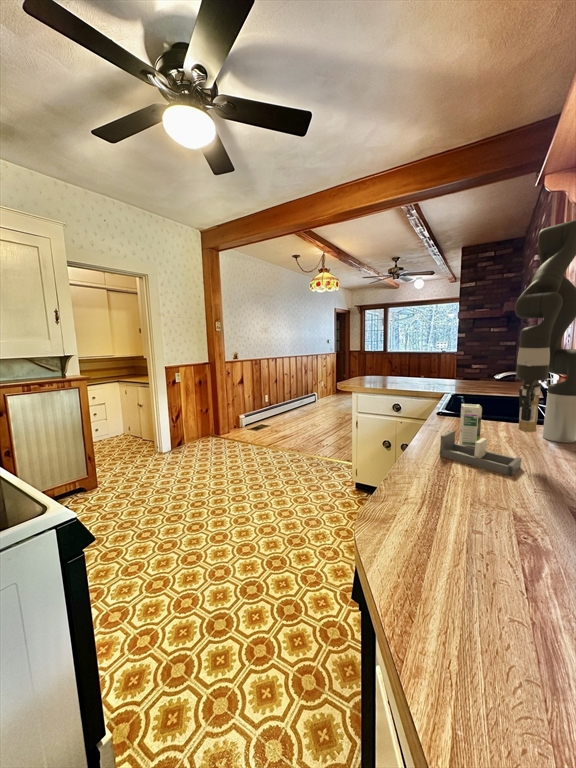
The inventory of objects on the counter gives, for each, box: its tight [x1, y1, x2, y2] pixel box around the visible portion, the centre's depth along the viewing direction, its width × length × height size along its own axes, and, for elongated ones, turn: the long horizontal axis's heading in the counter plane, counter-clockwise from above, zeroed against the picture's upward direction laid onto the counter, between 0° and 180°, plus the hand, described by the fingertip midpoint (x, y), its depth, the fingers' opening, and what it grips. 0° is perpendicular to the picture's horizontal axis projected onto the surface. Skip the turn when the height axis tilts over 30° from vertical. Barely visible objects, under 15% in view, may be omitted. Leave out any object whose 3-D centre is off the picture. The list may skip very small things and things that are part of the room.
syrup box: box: [458, 403, 483, 448], centre depth 112 cm, size 6×6×14 cm
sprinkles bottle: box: [517, 388, 541, 433], centre depth 95 cm, size 5×5×14 cm
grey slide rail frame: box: [439, 429, 522, 477], centre depth 98 cm, size 8×20×7 cm, turn 40°
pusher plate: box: [474, 437, 488, 458], centre depth 97 cm, size 6×1×5 cm, turn 130°
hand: (527, 418), depth 96 cm, fingers closed on sprinkles bottle, 4 cm apart
